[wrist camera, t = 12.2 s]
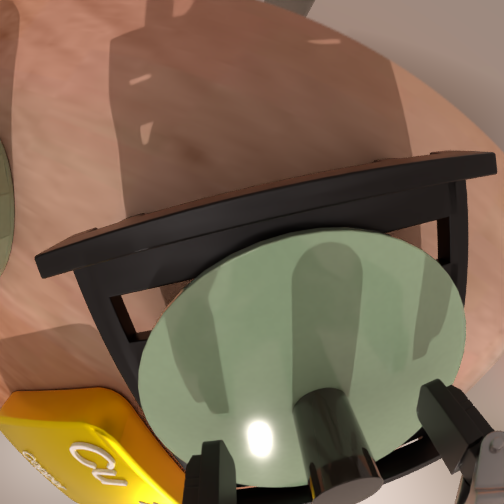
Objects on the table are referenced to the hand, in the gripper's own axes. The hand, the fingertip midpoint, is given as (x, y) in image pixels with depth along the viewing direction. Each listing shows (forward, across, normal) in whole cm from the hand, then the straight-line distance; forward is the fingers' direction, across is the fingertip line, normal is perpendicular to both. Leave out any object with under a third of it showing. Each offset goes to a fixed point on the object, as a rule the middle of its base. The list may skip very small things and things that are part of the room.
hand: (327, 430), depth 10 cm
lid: (+2, 0, 0) cm, 2 cm away
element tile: (+9, +20, +10) cm, 24 cm away
